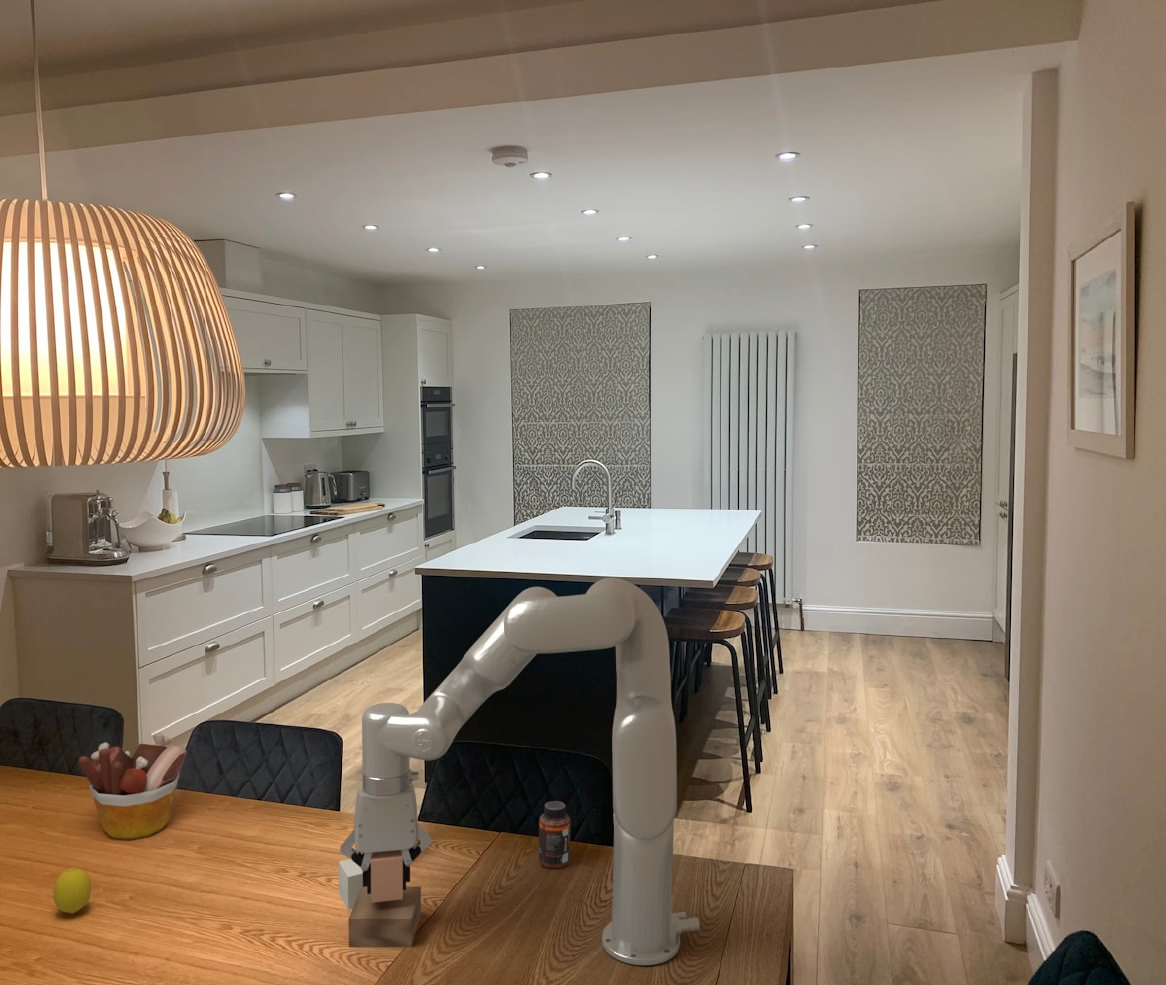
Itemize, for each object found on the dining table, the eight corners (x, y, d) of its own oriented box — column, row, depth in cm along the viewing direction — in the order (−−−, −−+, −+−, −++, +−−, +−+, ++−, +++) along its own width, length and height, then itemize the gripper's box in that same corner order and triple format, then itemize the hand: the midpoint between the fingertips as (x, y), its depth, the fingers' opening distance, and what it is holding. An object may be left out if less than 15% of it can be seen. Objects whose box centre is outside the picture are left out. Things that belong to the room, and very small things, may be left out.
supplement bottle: (574, 866, 172) (575, 809, 171) (544, 872, 170) (545, 813, 169) (563, 852, 178) (564, 796, 177) (534, 857, 175) (535, 800, 174)
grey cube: (372, 885, 164) (372, 853, 164) (382, 901, 159) (382, 868, 158) (339, 893, 161) (338, 861, 161) (347, 910, 156) (347, 876, 155)
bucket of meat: (133, 804, 195) (131, 714, 194) (201, 812, 192) (200, 721, 190) (62, 847, 176) (58, 747, 174) (136, 857, 172) (133, 756, 171)
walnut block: (420, 914, 156) (420, 886, 155) (411, 948, 146) (411, 918, 145) (361, 914, 155) (361, 886, 155) (348, 948, 145) (348, 918, 145)
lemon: (57, 908, 155) (55, 862, 154) (94, 902, 157) (92, 857, 156) (51, 925, 150) (49, 878, 149) (89, 919, 152) (87, 873, 151)
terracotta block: (401, 883, 153) (401, 843, 152) (402, 899, 148) (402, 857, 147) (370, 886, 152) (370, 846, 151) (371, 902, 147) (371, 861, 146)
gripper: (436, 767, 154) (436, 871, 155) (332, 776, 150) (333, 882, 151) (440, 785, 147) (440, 893, 148) (331, 794, 142) (332, 906, 144)
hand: (386, 886), depth 150 cm, fingers closed on terracotta block, 4 cm apart
